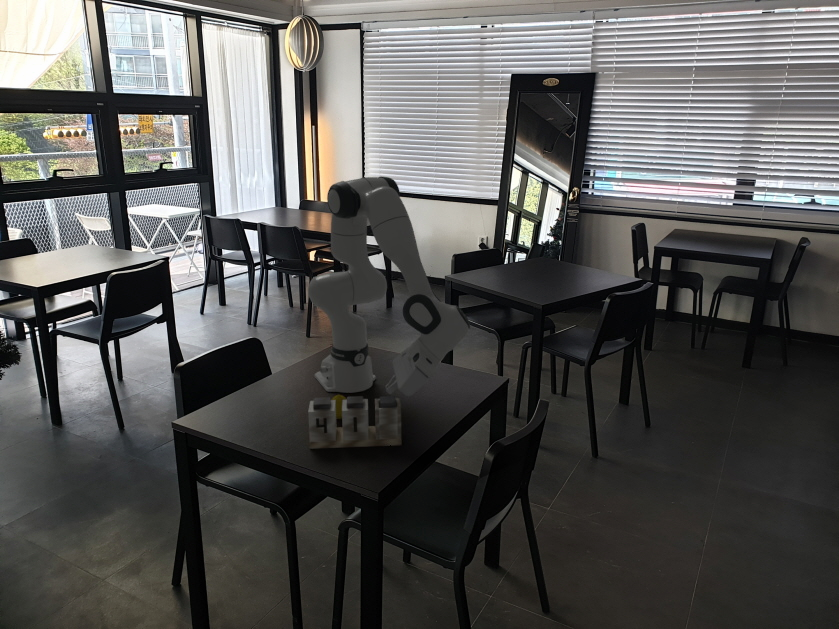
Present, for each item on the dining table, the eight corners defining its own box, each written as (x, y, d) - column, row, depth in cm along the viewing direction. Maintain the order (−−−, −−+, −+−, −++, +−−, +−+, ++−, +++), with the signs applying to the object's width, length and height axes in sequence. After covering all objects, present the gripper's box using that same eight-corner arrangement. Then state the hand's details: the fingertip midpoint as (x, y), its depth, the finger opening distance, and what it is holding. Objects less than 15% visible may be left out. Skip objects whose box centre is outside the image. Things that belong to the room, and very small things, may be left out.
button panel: (309, 448, 176) (307, 408, 172) (312, 433, 184) (310, 394, 181) (401, 445, 177) (401, 405, 174) (399, 429, 186) (399, 391, 182)
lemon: (349, 414, 195) (348, 390, 193) (348, 423, 190) (347, 398, 188) (331, 415, 195) (330, 390, 193) (329, 423, 190) (328, 398, 187)
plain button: (380, 424, 178) (379, 403, 176) (379, 417, 182) (379, 396, 180) (396, 424, 178) (396, 402, 176) (395, 417, 182) (395, 396, 180)
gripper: (410, 335, 184) (376, 369, 186) (419, 362, 165) (382, 399, 167) (425, 349, 186) (392, 382, 188) (436, 377, 167) (399, 414, 169)
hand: (387, 390), depth 177 cm, fingers closed
